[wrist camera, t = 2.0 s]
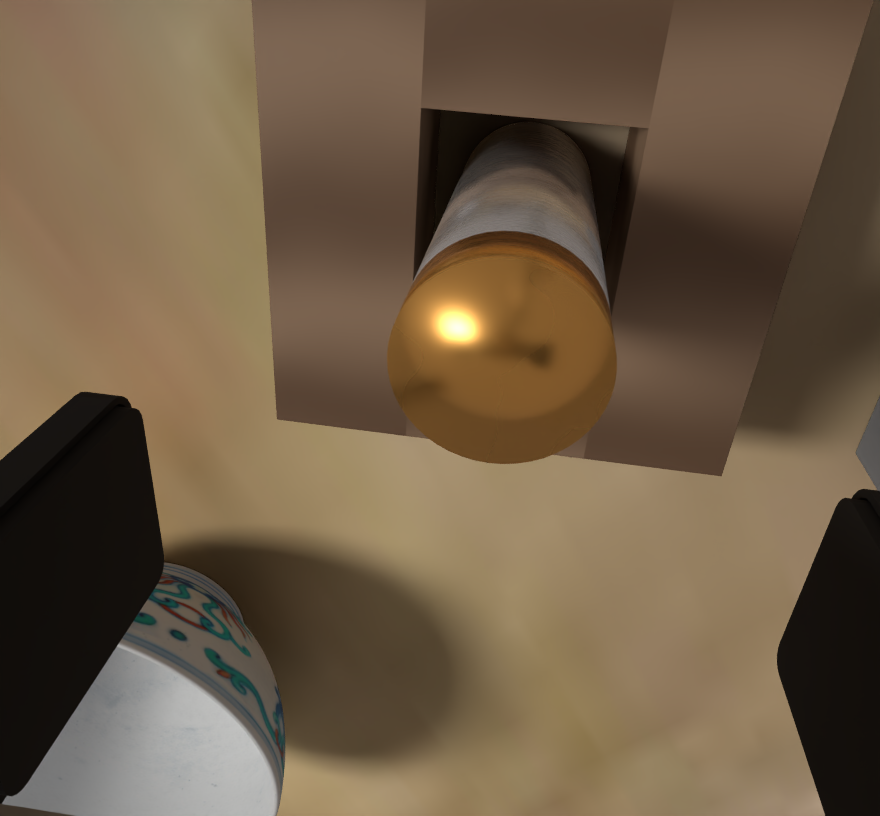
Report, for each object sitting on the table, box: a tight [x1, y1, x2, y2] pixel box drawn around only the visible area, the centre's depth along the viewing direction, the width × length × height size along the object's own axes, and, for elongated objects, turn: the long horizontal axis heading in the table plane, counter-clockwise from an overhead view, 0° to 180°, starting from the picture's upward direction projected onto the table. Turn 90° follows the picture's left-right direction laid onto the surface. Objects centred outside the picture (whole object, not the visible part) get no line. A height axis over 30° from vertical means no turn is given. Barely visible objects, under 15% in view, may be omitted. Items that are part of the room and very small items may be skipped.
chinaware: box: [2, 562, 285, 816], centre depth 32 cm, size 15×15×8 cm
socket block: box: [252, 0, 874, 476], centre depth 22 cm, size 14×14×4 cm
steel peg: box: [387, 122, 617, 464], centre depth 18 cm, size 4×4×12 cm
